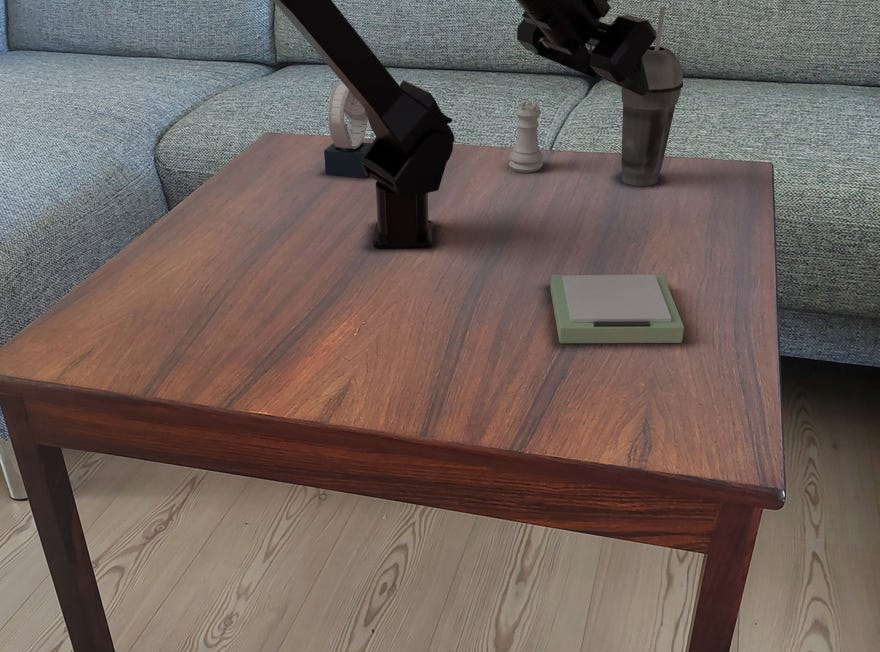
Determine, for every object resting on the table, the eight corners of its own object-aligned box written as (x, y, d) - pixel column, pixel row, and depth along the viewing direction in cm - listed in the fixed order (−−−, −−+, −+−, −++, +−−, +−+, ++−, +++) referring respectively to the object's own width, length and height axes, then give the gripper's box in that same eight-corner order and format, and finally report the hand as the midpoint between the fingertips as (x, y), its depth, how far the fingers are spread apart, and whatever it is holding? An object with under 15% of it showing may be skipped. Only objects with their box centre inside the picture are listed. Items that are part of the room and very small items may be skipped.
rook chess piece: (503, 171, 121) (505, 107, 116) (515, 160, 124) (517, 98, 120) (536, 175, 120) (539, 111, 115) (547, 164, 123) (551, 101, 118)
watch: (382, 162, 126) (378, 76, 119) (359, 182, 120) (354, 93, 113) (343, 158, 127) (337, 73, 121) (319, 178, 121) (312, 90, 115)
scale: (681, 343, 84) (685, 323, 83) (559, 343, 85) (561, 324, 84) (661, 288, 93) (663, 270, 92) (550, 289, 94) (551, 271, 93)
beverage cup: (665, 169, 120) (689, -3, 108) (673, 190, 114) (699, 11, 102) (608, 169, 120) (625, -1, 108) (612, 190, 115) (631, 12, 103)
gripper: (653, -69, 89) (722, 38, 100) (543, -88, 103) (614, 9, 113) (579, 31, 91) (654, 126, 102) (481, 0, 105) (556, 87, 115)
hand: (619, 82), depth 108 cm, fingers open, 9 cm apart
